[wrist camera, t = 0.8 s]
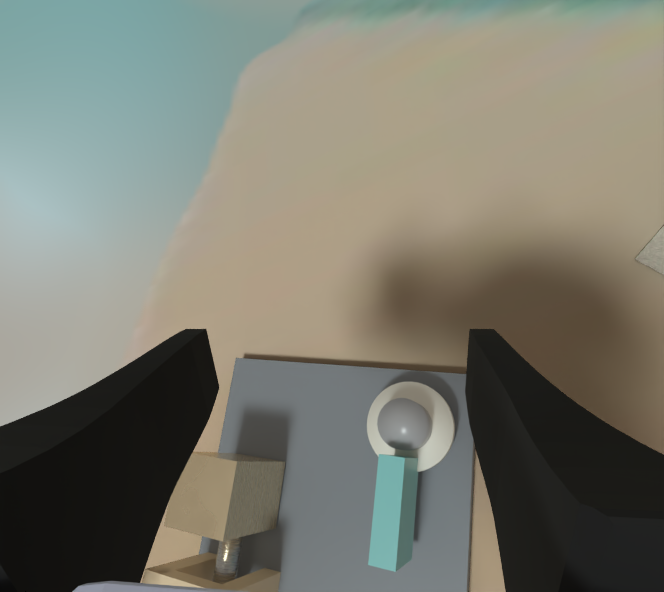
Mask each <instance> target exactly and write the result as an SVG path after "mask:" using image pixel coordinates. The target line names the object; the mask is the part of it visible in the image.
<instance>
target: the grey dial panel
mask: <svg viewBox="0 0 664 592" xmlns="http://www.w3.org/2000/svg"><path fill="white" fill-rule="evenodd" d="M400 382H418V383H421V384H424V385H426V386H429V387H430V388H432V389H433V390H435V391H436V392H437V393H439V394H440V395H441V396H442V397H443V398H444V399H445V401H446V402H447V404H448V405H449V407H450V409H451V411H452V414H453V417H454V423H455V435H454V440H453V444H452V446H451V449H450V450H449V452H448V454H447V455H446V456H445V458H444V459H443V460H442V461H441V462H440V463H438V464H437V465H436V466H434V467H432V468H430V469H427V470H425V471H420V472H418V483H417V496H416V510H415V523H414V537H413V550H412V560H410V561H409V562H408V563H406V564H405V565H404V566H403V567H401V568H400V569H399V570H397V571H396V572H394V571H390V570H386V569H382V568H378V567H374V566H370V565H368V561H369V551H370V540H371V530H372V520H373V510H374V499H375V489H376V479H377V468H378V458H379V457H378V456H377V454H376V453H375V451H374V450H373V448H372V446H371V444H370V441H369V438H368V433H367V418H368V413H369V410H370V408H371V405H372V403H373V402H374V400H375V399H376V397H377V396H378V395H379V394H380V393H381V392H382V391H383V390H385V389H386V388H388V387H389V386H391V385H394V384H396V383H400ZM465 385H466V374H458V373H443V372H429V371H415V370H401V369H387V368H372V367H358V366H344V365H330V364H316V363H301V362H287V361H273V360H259V359H245V358H236V361H235V366H234V371H233V377H232V382H231V387H230V393H229V398H228V403H227V408H226V414H225V419H224V424H223V430H222V435H221V440H220V446H219V451H218V453H237V454H243V455H249V456H255V457H261V458H267V459H272V460H278V461H284V462H285V469H284V476H283V482H282V489H281V496H280V502H279V509H278V516H277V522H276V528H275V529H271V530H267V531H263V532H259V533H255V534H251V535H247V536H243V542H242V548H241V554H240V560H239V566H238V572H237V578H236V579H235V580H232V581H229V582H227V583H224V584H219V583H216V582H212V581H213V575H214V570H215V564H216V559H217V553H218V547H219V542H220V541H219V540H215V539H211V538H208V537H204V536H202V541H201V546H200V551H199V555H196V556H192V557H189V558H185V559H181V560H178V561H174V562H170V563H166V564H163V565H159V566H155V567H152V568H148V569H145V572H144V577H143V582H142V583H146V584H159V585H172V586H185V587H197V588H210V589H223V590H236V591H248V592H469V575H470V551H471V528H472V504H473V480H474V457H475V444H474V440H473V436H472V432H471V429H470V424H469V418H468V411H467V403H466V395H465Z"/></svg>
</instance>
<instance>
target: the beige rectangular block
mask: <svg viewBox="0 0 664 592" xmlns="http://www.w3.org/2000/svg"><path fill="white" fill-rule="evenodd" d="M284 469H285V462H284V461H278V460H272V459H267V458H261V457H255V456H249V455H243V454H237V453H215V452H192V454H191V456H190V458H189V460H188V462H187V464H186V466H185V468H184V470H183V472H182V474H181V476H180V478H179V480H178V482H177V484H176V486H175V488H174V491H173V493H172V495H171V497H170V500H169V504H168V509H167V514H166V518H165V523H164V526H165V527H169V528H173V529H177V530H181V531H185V532H188V533H192V534H196V535H200V536H204V537H208V538H211V539H215V540H219V541H220V542H219V547H218V553H217V559H216V564H215V570H214V575H213V581H212V582H216V583H219V584H224V583H227V582H229V581H232V580H235V579H236V578H237V572H238V566H239V560H240V554H241V548H242V542H243V536H247V535H251V534H255V533H259V532H263V531H267V530H271V529H275V528H276V522H277V516H278V509H279V502H280V496H281V489H282V482H283V476H284Z"/></svg>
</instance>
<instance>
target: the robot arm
mask: <svg viewBox="0 0 664 592" xmlns="http://www.w3.org/2000/svg"><path fill="white" fill-rule="evenodd" d="M218 390H219V384H218V379H217V375H216V371H215V366H214V362H213V357H212V353H211V348H210V344H209V339H208V335H207V331H206V329H185V330H183V331H181V332H179V333H177V334H176V335H174V336H172V337H170V338H169V339H167V340H166V341H164V342H162V343H161V344H159V345H158V346H156V347H155V348H153V349H151V350H150V351H148V352H147V353H145V354H144V355H142V356H140V357H139V358H137V359H136V360H134V361H133V362H131V363H129V364H128V365H126V366H124V367H123V368H121V369H119V370H118V371H116V372H114V373H113V374H111V375H109V376H107V377H106V378H104V379H102V380H101V381H99V382H97V383H96V384H94V385H92V386H90V387H88V388H86V389H84V390H83V391H81V392H79V393H77V394H75V395H73V396H71V397H69V398H67V399H64V400H62V401H60V402H58V403H56V404H54V405H52V406H50V407H47V408H45V409H43V410H40V411H38V412H35V413H33V414H30V415H28V416H26V417H23V418H21V419H18V420H16V421H14V422H11V423H9V424H6V425H3V426H0V592H248V591H236V590H223V589H210V588H197V587H185V586H172V585H159V584H146V583H140V581H141V578H142V575H143V572H144V569H145V566H146V563H147V560H148V557H149V554H150V551H151V548H152V545H153V542H154V540H155V537H156V534H157V531H158V529H159V526H160V523H161V521H162V518H163V515H164V513H165V510H166V507H167V505H168V502H169V500H170V497H171V495H172V493H173V491H174V488H175V486H176V484H177V482H178V480H179V478H180V476H181V474H182V472H183V470H184V468H185V466H186V464H187V462H188V460H189V458H190V456H191V454H192V452H193V450H194V448H195V446H196V444H197V442H198V440H199V438H200V436H201V434H202V432H203V430H204V428H205V426H206V424H207V422H208V420H209V418H210V415H211V412H212V409H213V406H214V403H215V400H216V397H217V393H218ZM465 395H466V403H467V411H468V418H469V424H470V429H471V432H472V436H473V440H474V444H475V447H476V451H477V455H478V458H479V462H480V466H481V469H482V473H483V477H484V480H485V484H486V487H487V491H488V495H489V498H490V502H491V507H492V511H493V516H494V521H495V527H496V533H497V539H498V545H499V551H500V557H501V563H502V570H503V576H504V583H505V589H506V592H664V455H663V454H661V453H659V452H657V451H655V450H653V449H651V448H649V447H647V446H646V445H644V444H642V443H640V442H638V441H636V440H635V439H633V438H631V437H629V436H628V435H626V434H624V433H622V432H621V431H619V430H617V429H615V428H614V427H612V426H610V425H609V424H607V423H606V422H604V421H602V420H601V419H599V418H598V417H596V416H595V415H593V414H592V413H590V412H589V411H587V410H586V409H584V408H583V407H582V406H580V405H579V404H577V403H576V402H574V401H573V400H572V399H570V398H569V397H568V396H566V395H565V394H564V393H563V392H561V391H560V390H559V389H558V388H556V387H555V386H554V385H553V384H551V383H550V382H549V381H548V380H547V379H545V378H544V377H543V376H542V375H541V374H540V373H538V372H537V371H536V370H535V369H534V368H533V367H532V366H531V365H530V364H529V363H528V362H526V361H525V360H524V359H523V358H522V357H521V356H520V355H519V354H518V353H517V352H516V351H515V350H514V349H513V348H512V347H511V346H510V345H509V344H508V343H507V342H506V341H505V340H504V339H503V338H502V337H501V336H500V335H499V334H498V333H497V332H496V331H495V330H494V329H470V331H469V345H468V358H467V372H466V385H465Z"/></svg>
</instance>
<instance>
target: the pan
mask: <svg viewBox="0 0 664 592" xmlns="http://www.w3.org/2000/svg"><path fill="white" fill-rule="evenodd" d="M367 433H368V438H369V441H370V444H371V446H372V448H373V450H374V451H375V453H376V454H377V456H378V457H379V458H378V468H377V479H376V489H375V499H374V510H373V520H372V530H371V540H370V551H369V561H368V565H370V566H374V567H378V568H382V569H386V570H390V571H394V572H396V571H397V570H399V569H400V568H401V567H403V566H404V565H405V564H406V563H408V562H409V561H410V560H412V550H413V537H414V523H415V510H416V496H417V483H418V472H420V471H425V470H427V469H430V468H432V467H434V466H436V465H437V464H438V463H440V462H441V461H442V460H443V459H444V458H445V456H446V455H447V454H448V452H449V450H450V449H451V446H452V444H453V440H454V435H455V423H454V417H453V414H452V411H451V409H450V407H449V405H448V404H447V402H446V401H445V399H444V398H443V397H442V396H441V395H440V394H439V393H437V392H436V391H435V390H433V389H432V388H430V387H429V386H426V385H424V384H421V383H418V382H400V383H396V384H394V385H391V386H389V387H388V388H386V389H385V390H383V391H382V392H381V393H380V394H379V395H378V396H377V397H376V399H375V400H374V402H373V403H372V405H371V408H370V410H369V413H368V418H367Z"/></svg>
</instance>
